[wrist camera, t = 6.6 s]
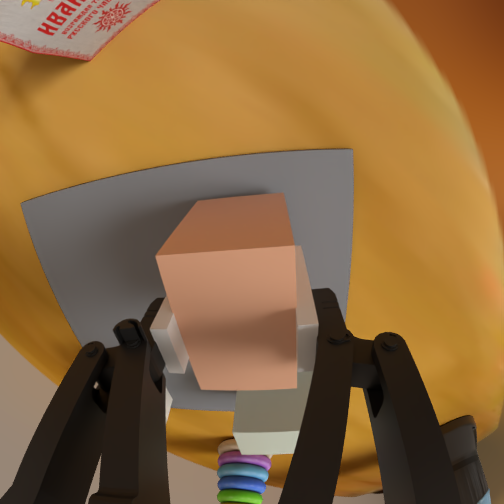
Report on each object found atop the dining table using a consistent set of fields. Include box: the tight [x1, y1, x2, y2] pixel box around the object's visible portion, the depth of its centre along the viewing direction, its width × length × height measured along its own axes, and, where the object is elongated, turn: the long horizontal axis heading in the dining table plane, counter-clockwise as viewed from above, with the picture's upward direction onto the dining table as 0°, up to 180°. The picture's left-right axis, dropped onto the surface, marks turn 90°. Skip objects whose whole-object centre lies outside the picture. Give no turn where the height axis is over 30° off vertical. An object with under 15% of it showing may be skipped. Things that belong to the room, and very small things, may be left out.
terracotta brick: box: [155, 193, 297, 390], centre depth 15 cm, size 8×5×7 cm, turn 6°
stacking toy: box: [217, 439, 273, 504], centre depth 25 cm, size 8×8×19 cm
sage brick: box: [233, 369, 313, 455], centre depth 21 cm, size 8×5×7 cm, turn 96°
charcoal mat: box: [21, 149, 354, 411], centre depth 22 cm, size 26×26×1 cm
